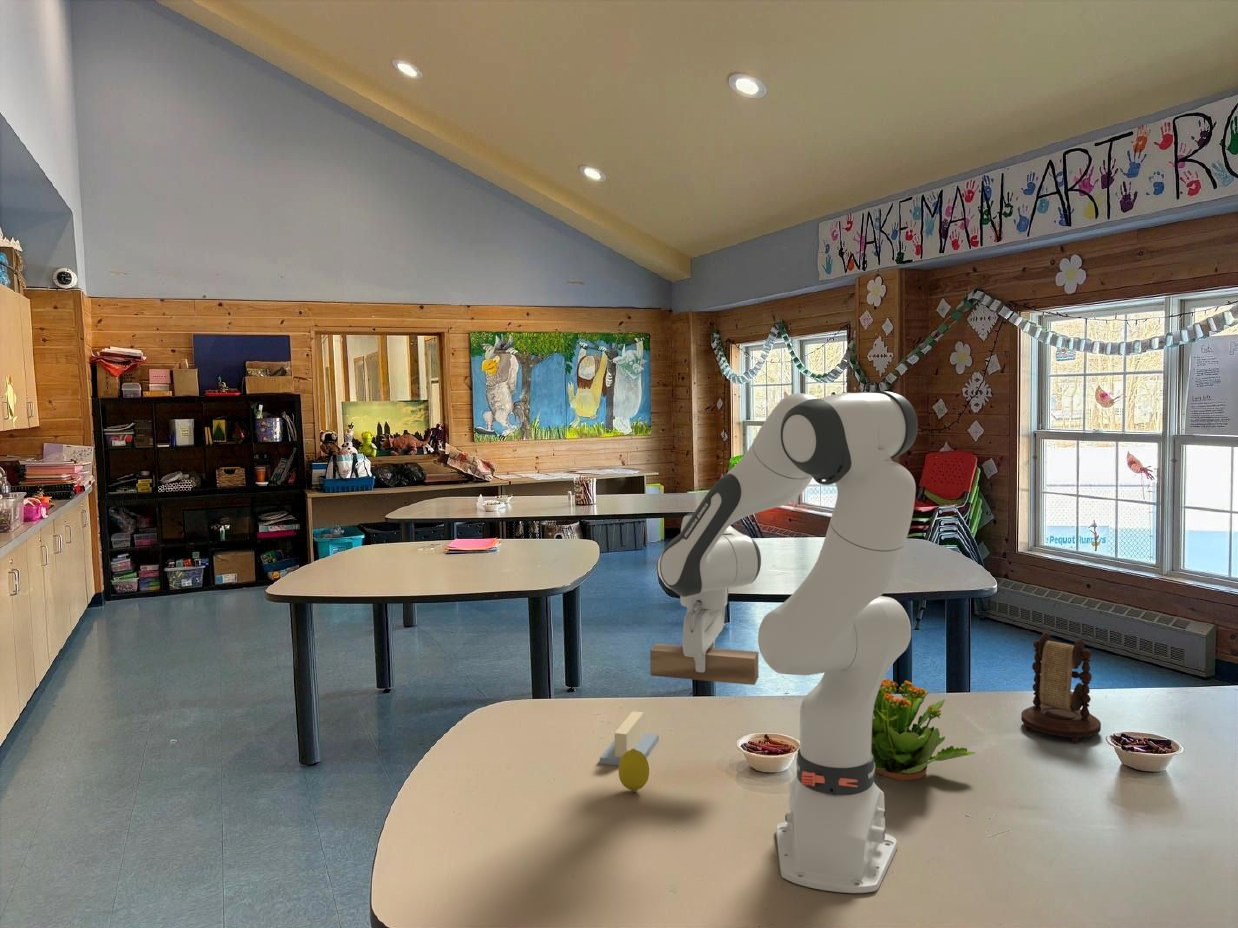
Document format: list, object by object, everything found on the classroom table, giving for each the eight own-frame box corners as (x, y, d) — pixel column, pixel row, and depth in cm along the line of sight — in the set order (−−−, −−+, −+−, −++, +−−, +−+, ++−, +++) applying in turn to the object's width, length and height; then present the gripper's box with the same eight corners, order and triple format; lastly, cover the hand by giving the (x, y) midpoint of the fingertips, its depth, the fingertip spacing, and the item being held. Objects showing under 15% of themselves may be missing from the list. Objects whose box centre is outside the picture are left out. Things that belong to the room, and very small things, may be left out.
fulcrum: (639, 767, 172) (638, 737, 172) (600, 763, 175) (599, 733, 174) (658, 740, 185) (658, 711, 185) (621, 736, 188) (621, 708, 187)
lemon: (613, 795, 161) (612, 751, 160) (627, 782, 166) (626, 740, 165) (641, 801, 158) (640, 757, 158) (654, 788, 163) (653, 745, 163)
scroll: (1008, 730, 186) (1010, 636, 185) (1039, 711, 196) (1040, 622, 195) (1083, 750, 176) (1086, 650, 174) (1111, 730, 185) (1114, 635, 184)
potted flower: (977, 757, 173) (978, 669, 172) (969, 811, 152) (970, 710, 150) (846, 739, 184) (846, 655, 182) (821, 786, 162) (821, 692, 161)
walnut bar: (754, 684, 166) (754, 658, 166) (650, 675, 172) (650, 650, 172) (758, 677, 170) (758, 651, 170) (656, 668, 176) (656, 643, 176)
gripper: (708, 609, 159) (709, 685, 160) (730, 583, 178) (730, 651, 180) (673, 607, 161) (674, 682, 162) (699, 582, 180) (700, 649, 182)
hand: (704, 666), depth 171 cm, fingers closed on walnut bar, 4 cm apart
